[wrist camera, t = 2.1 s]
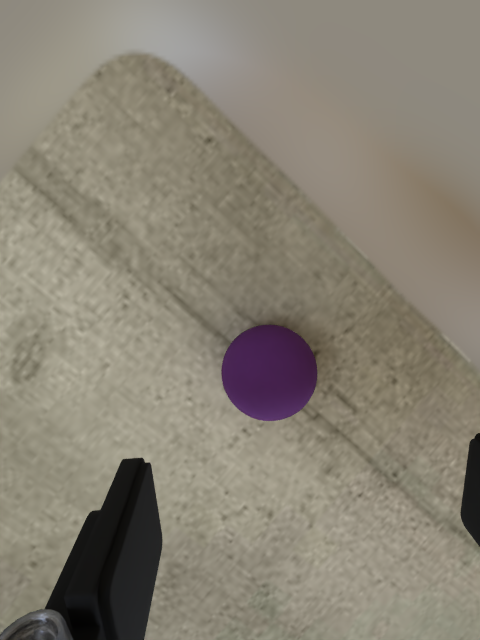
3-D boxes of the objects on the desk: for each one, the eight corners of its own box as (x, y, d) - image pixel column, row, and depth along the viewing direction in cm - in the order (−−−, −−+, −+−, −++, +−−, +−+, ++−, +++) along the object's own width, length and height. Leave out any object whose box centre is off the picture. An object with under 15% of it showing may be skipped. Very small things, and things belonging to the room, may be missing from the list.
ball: (224, 394, 20) (225, 445, 16) (218, 316, 19) (217, 349, 15) (306, 388, 20) (328, 437, 16) (305, 309, 19) (329, 340, 15)
